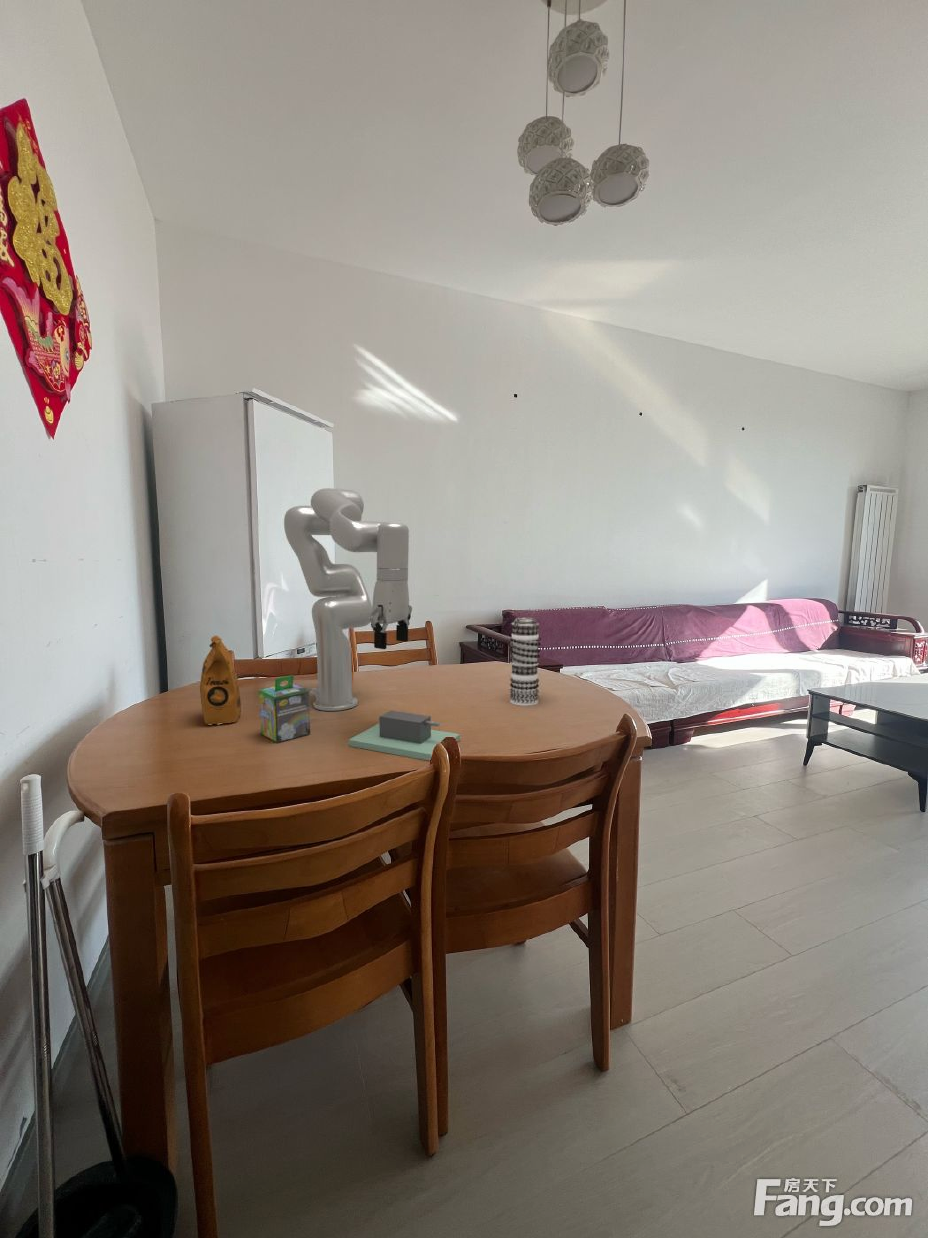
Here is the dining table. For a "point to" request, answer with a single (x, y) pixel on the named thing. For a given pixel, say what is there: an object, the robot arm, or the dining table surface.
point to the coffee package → (219, 686)
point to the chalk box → (284, 710)
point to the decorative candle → (524, 662)
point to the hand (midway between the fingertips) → (391, 644)
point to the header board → (399, 743)
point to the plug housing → (406, 726)
